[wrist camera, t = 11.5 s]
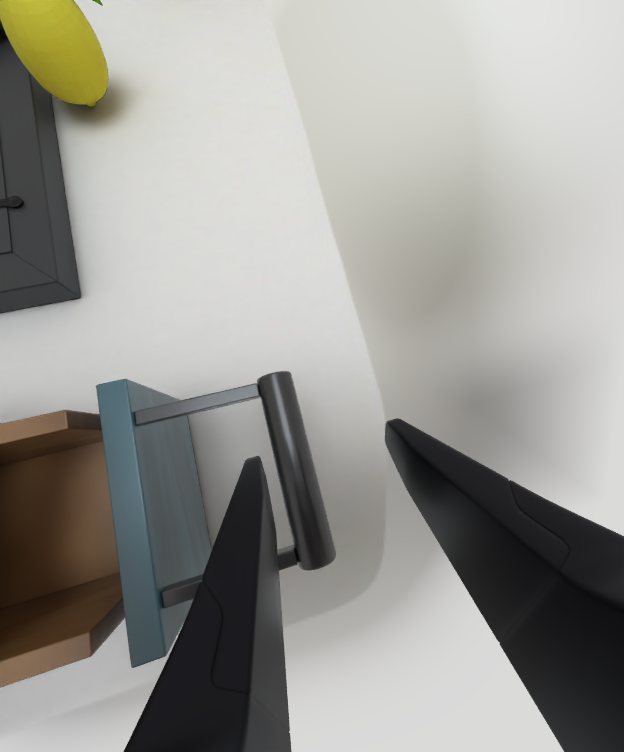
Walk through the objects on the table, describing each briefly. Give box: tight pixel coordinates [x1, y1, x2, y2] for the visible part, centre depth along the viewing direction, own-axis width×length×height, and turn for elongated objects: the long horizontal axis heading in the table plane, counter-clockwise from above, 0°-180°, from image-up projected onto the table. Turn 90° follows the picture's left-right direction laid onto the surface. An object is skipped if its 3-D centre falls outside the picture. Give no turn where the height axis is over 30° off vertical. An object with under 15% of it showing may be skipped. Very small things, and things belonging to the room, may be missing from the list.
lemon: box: [0, 0, 108, 107], centre depth 20 cm, size 7×6×10 cm
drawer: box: [0, 371, 336, 687], centre depth 15 cm, size 19×10×8 cm, turn 104°
